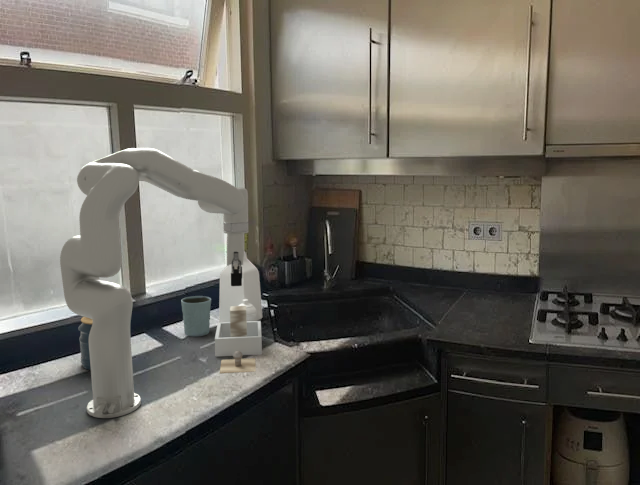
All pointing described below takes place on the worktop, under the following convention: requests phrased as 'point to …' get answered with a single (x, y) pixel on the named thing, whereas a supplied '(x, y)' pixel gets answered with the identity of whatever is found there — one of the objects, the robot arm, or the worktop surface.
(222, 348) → the bin
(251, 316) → the spinning top
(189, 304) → the teal cup
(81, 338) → the canister
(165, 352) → the worktop surface
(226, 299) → the milk
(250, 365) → the square lid with knob
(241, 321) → the strut
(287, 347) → the worktop surface
